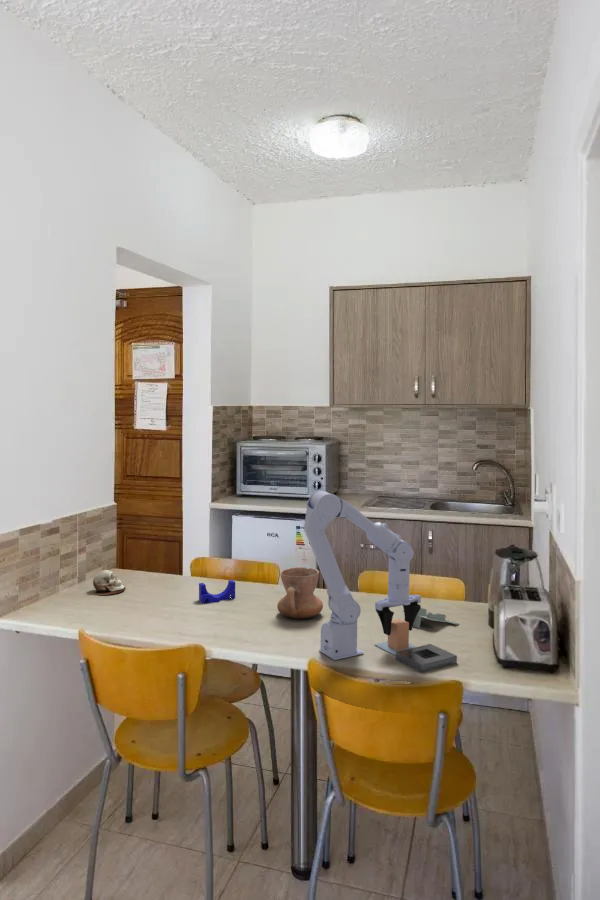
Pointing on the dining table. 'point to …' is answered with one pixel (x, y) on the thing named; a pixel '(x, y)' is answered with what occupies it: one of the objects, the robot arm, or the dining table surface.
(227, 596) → the blue curved cradle
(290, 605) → the ceramic jug
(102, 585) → the skull
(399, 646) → the square peg
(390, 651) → the rubber mat
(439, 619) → the metal bracket
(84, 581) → the dining table surface
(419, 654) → the socket plate
